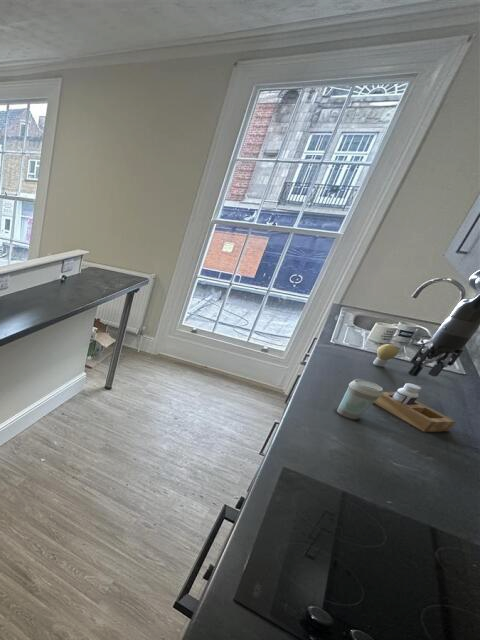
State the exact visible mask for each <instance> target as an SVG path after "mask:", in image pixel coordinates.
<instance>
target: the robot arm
mask: <svg viewBox="0 0 480 640" xmlns="http://www.w3.org/2000/svg"><path fill="white" fill-rule="evenodd" d="M468 285H469V287H470V288H472V289H474V290H476V291H478V292H480V269H479V270H477V271H475V272H474V273H473V274H471V276H470V277H469V279H468ZM479 327H480V294H478V295H477V296H475V297H474V298H471V297H470V298H464V299H462V300H460V301H459V302H458V304H457V305H456V306H455V308H454V309H453V310H452V311H451V313H450V314H449V316H447V318H446V319H445V320H443V322H442V323H441V325H440V326H439V327H438V328H437V330H436V331H435V332H434V334H433V335H432V336H431V338H430V342H431V343H432V345H430V346H429V347H426V346H424V345H423V346H421V347H420V348H419V349H418V351H417V352H416V353H415V355H414V356H413V357H412V358H411V359H410V361H409V362H410V363H411V364H413V365H412V367H411V368H410V369H409V371H408V372H407V374H408V375H409V376H411V377H417V376H418V375H419V374H420V373H421V371H422V370H423V368H424V367H425V366H427V365H429V364H433V363H434V362H435V364H434V365H432V367H431V369H430V370H429V372H428V373H427V374H428V375H429V376H431V377H438V376H439V374H441V372H442V371H443V369H445V368H447V367H448V366H451V367H452V366H453V365H454V364H455V362H456V361H457V360H458V358H459V357H460V356H461V354H462V353H463V352H464V350H463V348H465V346H466V345H467V343H469V341H470V340H471V338H472V337H473V336H474V335H475V333H477V331H478V330H479Z"/></svg>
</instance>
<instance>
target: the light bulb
mask: <svg viewBox="0 0 480 640" xmlns="http://www.w3.org/2000/svg"><path fill="white" fill-rule="evenodd" d="M376 354H377V355H376V356H377V357H376V358H375V359H374V361H373V365H374V366H376V367H379V368H381V367H385V365H386V364H387V363H388V360H391V359H393V358H395V357H397V356H398V354H399V348H398V347H397V346H396V345H394V344H390V343H385V344H382V345H380V346H379V347H377V350H376Z"/></svg>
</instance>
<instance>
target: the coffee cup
mask: <svg viewBox="0 0 480 640" xmlns="http://www.w3.org/2000/svg"><path fill="white" fill-rule="evenodd" d="M382 392H384V388H383V387H382V386H380V385H379V384H377V383H375V382H372V381H369V380H366V379H363V378H362V379H361V378H355V379H353V380H352V381H350V382H349V383H348V388H347V389H346V392H345V393H344V395H343V398H342V400H341V402H340V404H339V406H338V408H337V410H336V412H337V413H338V414H339V415H340V416H342V417H345V418H347V419H351V420H358V419H359V418H360V417H361V416H362V415H363V414H364V413H366V411H367V410H368V409H369V408H370V407H371V406H372V405H373V404H375V403H374V402H375V401H376V399H377V398H378V397H380V396H382V394H383V393H382Z"/></svg>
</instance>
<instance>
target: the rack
mask: <svg viewBox="0 0 480 640" xmlns="http://www.w3.org/2000/svg"><path fill="white" fill-rule="evenodd" d="M396 392H397V391H383V392H382V393H383V394H382V396H380V397H378V398H377V399H376V401H375V402H374V403H373V404H375V405H376V406H378V407H380V408H382V409H383V410H385V411H387V412H389V413H391V414H392V415H394V416H395V417H397V418H399V419H401V420H403V421H404V422H407V423H408V424H410V425H412V426H413V427H415V428H416V429H419V430H420V431H422V432H423V433H424V432H427V433H429V432H449V431H450V430H451V428H453V426H454V425H455V424H456V423H457V421H456V420H454V419H452V418H451V417H448V416H446V415H444V414H443V413H441V412H439V411H437V410H435V409H433V408H431V407H430V406H427V405H425V404H424V403H421V402H419V401H418V400H417V399H416V400H415V402H414V403H413V404H412V405H404V404H403V403H401V402H399V401H397V400H395V399H393V398H392V397H393V396H394V394H395V393H396Z"/></svg>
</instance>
